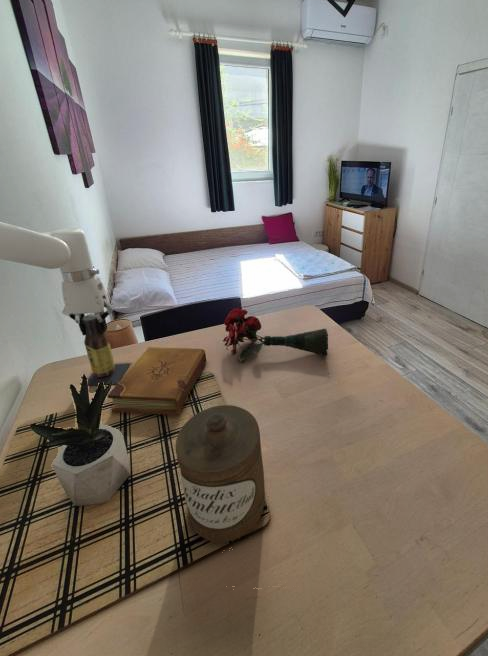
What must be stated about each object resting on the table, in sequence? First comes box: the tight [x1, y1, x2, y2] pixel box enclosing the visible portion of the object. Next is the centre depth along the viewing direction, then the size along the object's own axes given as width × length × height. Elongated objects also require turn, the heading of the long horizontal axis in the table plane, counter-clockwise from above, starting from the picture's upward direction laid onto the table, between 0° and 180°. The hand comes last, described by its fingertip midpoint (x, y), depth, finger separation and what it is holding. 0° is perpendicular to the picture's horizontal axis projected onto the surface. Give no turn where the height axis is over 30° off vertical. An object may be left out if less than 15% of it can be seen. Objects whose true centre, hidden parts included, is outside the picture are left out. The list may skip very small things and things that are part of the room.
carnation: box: [222, 307, 329, 363], centre depth 111 cm, size 16×18×35 cm
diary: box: [107, 346, 207, 416], centre depth 95 cm, size 23×19×6 cm
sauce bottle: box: [83, 313, 115, 377], centre depth 97 cm, size 7×6×20 cm
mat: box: [87, 362, 131, 387], centre depth 101 cm, size 10×10×1 cm
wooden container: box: [175, 404, 266, 544], centre depth 60 cm, size 15×15×22 cm
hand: (94, 332), depth 95 cm, fingers closed on sauce bottle, 4 cm apart
